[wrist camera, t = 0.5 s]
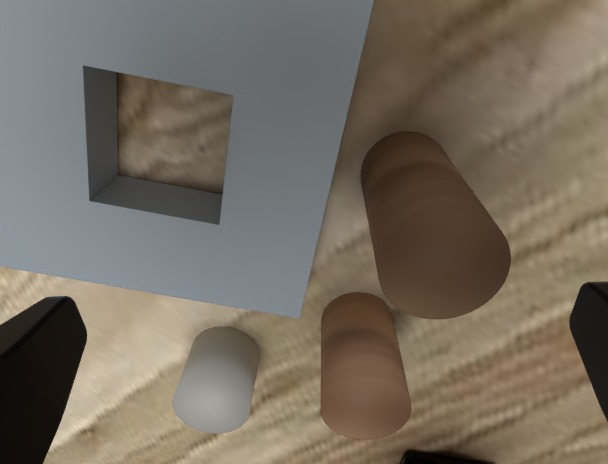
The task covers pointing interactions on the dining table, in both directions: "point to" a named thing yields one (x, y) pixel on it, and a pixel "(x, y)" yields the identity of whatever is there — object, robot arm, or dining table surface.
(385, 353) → the medium dowel
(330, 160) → the grey square frame
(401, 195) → the long dowel
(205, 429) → the short dowel
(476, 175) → the dining table surface
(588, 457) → the dining table surface
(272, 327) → the dining table surface
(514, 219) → the dining table surface
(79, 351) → the robot arm
